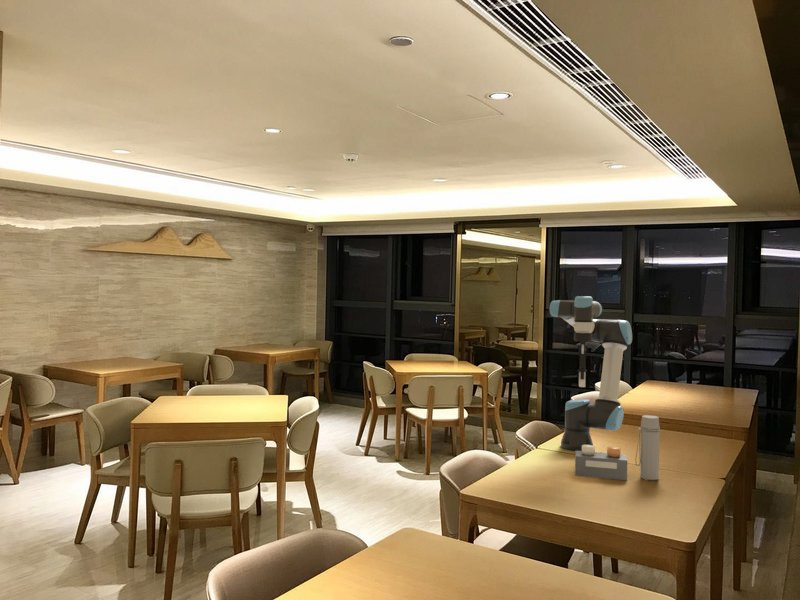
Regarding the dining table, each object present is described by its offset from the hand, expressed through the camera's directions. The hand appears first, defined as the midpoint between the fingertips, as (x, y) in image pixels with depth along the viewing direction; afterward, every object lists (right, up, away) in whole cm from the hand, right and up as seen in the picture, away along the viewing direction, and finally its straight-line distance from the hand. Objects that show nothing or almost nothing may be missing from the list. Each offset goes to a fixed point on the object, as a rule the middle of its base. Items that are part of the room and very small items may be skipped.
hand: (582, 386), depth 276 cm
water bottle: (+22, -35, -17) cm, 44 cm away
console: (+4, -35, -13) cm, 37 cm away
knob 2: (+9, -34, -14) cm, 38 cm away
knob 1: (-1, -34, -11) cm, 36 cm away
